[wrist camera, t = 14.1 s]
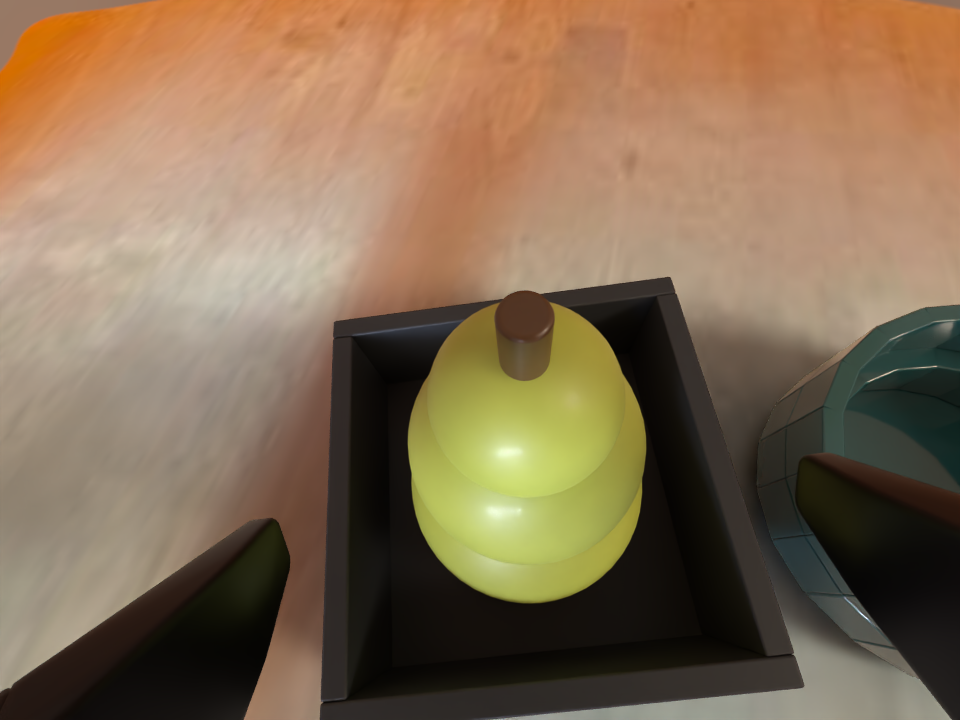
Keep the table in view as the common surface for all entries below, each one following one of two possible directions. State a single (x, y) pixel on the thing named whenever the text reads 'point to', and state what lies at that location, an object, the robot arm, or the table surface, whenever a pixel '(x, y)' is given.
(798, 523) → the bowl
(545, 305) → the pear
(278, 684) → the table surface
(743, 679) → the bin
